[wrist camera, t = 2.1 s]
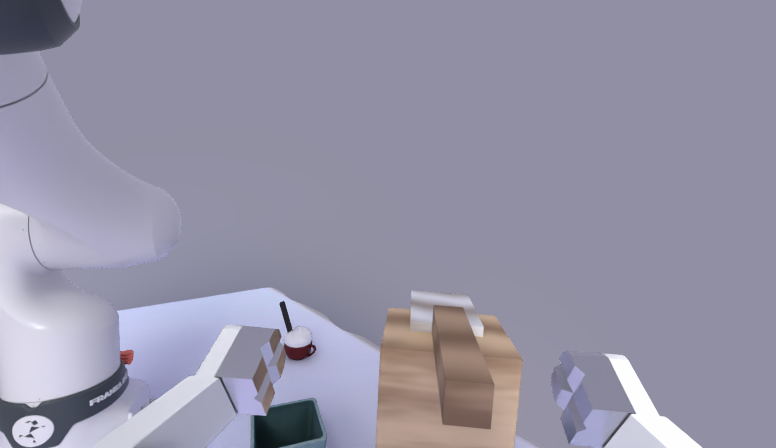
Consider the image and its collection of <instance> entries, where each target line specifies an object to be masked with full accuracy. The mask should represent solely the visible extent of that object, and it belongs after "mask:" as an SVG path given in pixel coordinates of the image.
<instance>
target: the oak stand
mask: <svg viewBox="0 0 776 448" xmlns="http://www.w3.org/2000/svg"><path fill="white" fill-rule="evenodd" d="M410 316H411V309H398V308H389V311H388V315H387V320H386V325H385V330H384V334H383V339H382V344H381V350H380V370H379V390H378V410H377V430H376V448H514V444H515V434H516V422H517V413H518V402H519V392H520V382H521V372H522V362H523V360H522V358H521V356H520V355H519V353H518V352H517V350H516V348H515V347H514V345H513V344H512V342H511V341H510V339H509V337H508V336H507V334H506V333H505V331H504V330H503V328H502V326H501V325H500V323H499V322H498V320H497V318H496V317H495V316H490V315H478V316H479V318H480V320H481V322H482V324H483V326H484V330H483V337H478V336H475V338H476V340H477V343H478V345H479V347H480V350H481V352H482V355H483V357H484V360H485V362H486V365H487V367H488V370H489V372H490V374H491V377H492V379H493V382H494V384H495V387H494V398H493V409H492V420H491V429H481V428H471V427H461V426H450V425H443V423H442V414H441V406H440V398H439V389H438V381H437V373H436V364H435V356H434V348H433V339H432V333H428V332H415V331H410Z"/></svg>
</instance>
